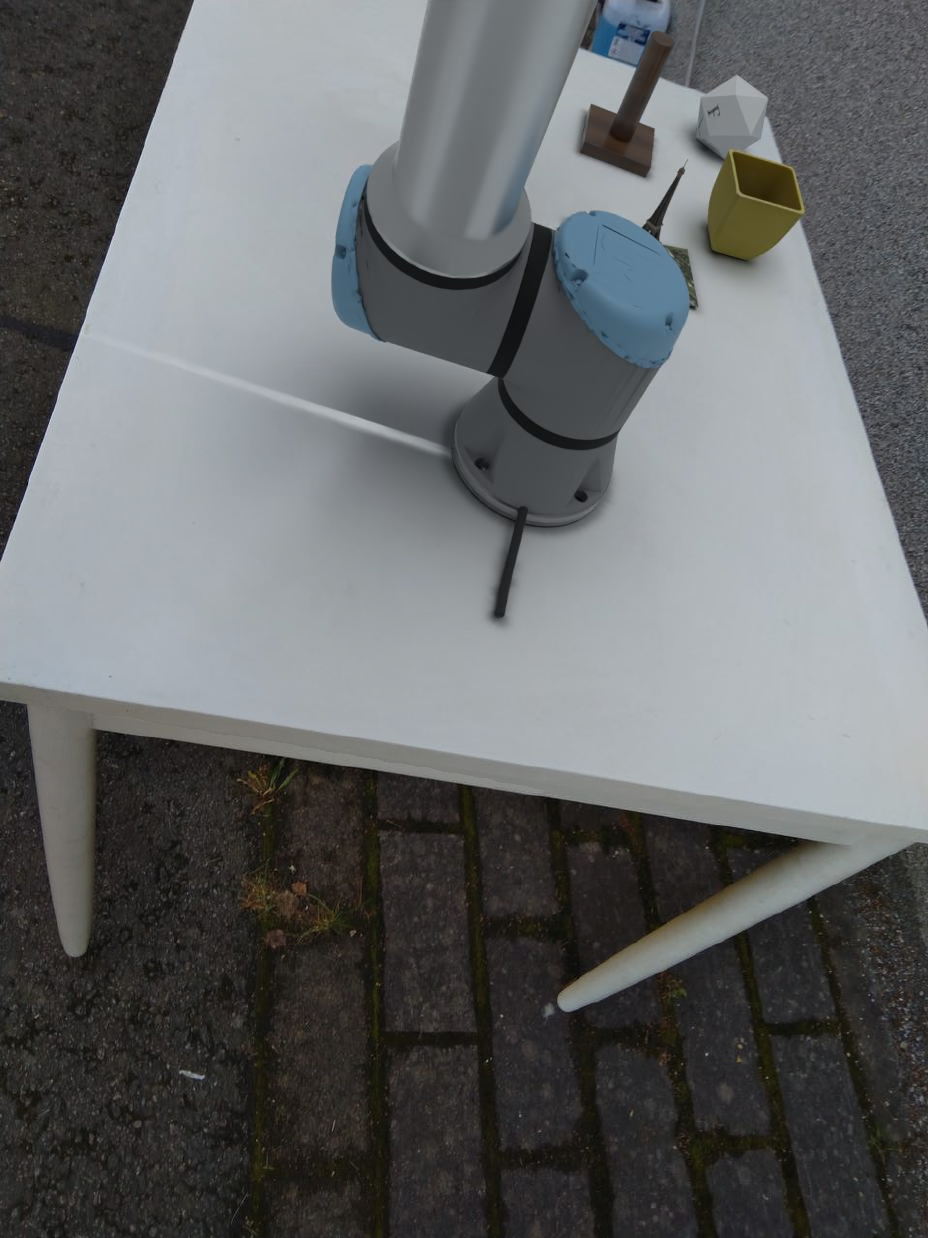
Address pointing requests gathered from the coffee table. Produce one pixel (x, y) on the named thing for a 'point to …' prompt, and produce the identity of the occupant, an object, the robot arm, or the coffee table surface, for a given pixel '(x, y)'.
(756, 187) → the flower pot
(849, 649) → the coffee table surface
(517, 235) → the robot arm
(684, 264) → the eiffel tower figurine
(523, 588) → the coffee table surface
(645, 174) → the wooden peg stand
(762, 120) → the die
